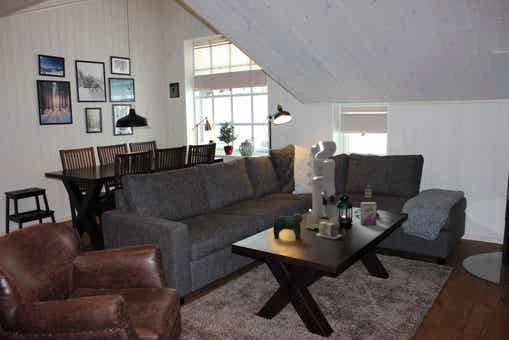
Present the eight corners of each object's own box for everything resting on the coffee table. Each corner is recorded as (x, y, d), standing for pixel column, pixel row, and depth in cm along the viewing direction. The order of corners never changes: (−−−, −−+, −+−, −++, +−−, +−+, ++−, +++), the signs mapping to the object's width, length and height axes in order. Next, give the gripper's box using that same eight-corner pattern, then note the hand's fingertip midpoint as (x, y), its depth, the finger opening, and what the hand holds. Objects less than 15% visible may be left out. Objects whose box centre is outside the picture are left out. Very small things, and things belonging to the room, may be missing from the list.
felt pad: (315, 235, 293) (315, 234, 293) (322, 232, 300) (322, 231, 300) (335, 239, 284) (335, 238, 284) (341, 235, 291) (341, 235, 291)
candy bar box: (361, 225, 315) (361, 203, 312) (360, 223, 320) (360, 202, 317) (376, 225, 314) (377, 203, 311) (375, 223, 319) (375, 202, 316)
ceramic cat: (303, 237, 290) (302, 208, 287) (302, 240, 284) (302, 210, 281) (274, 236, 293) (273, 208, 290) (273, 239, 287) (272, 210, 284)
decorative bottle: (387, 218, 331) (388, 187, 327) (362, 221, 326) (363, 189, 322) (373, 212, 352) (373, 182, 348) (349, 214, 347) (350, 184, 344)
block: (319, 234, 294) (319, 223, 293) (322, 232, 298) (322, 221, 297) (334, 237, 286) (334, 225, 285) (338, 235, 290) (338, 224, 289)
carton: (306, 227, 311) (306, 216, 310) (317, 223, 323) (317, 211, 321) (328, 232, 299) (328, 219, 298) (339, 227, 311) (339, 215, 309)
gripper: (330, 176, 295) (330, 200, 298) (317, 180, 282) (317, 205, 285) (339, 177, 290) (339, 202, 293) (327, 181, 277) (326, 207, 280)
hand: (328, 203), depth 289 cm, fingers open, 9 cm apart
